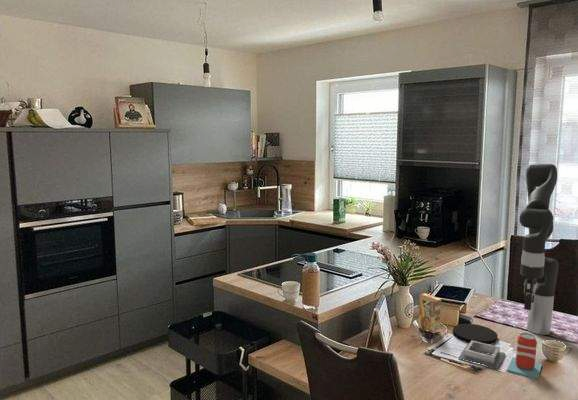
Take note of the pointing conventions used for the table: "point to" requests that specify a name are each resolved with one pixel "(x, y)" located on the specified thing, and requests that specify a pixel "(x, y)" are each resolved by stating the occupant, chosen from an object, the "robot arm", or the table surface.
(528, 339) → the beverage can
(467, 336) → the black round disc
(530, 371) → the mat
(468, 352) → the can holder
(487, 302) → the table surface
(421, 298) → the candy box
